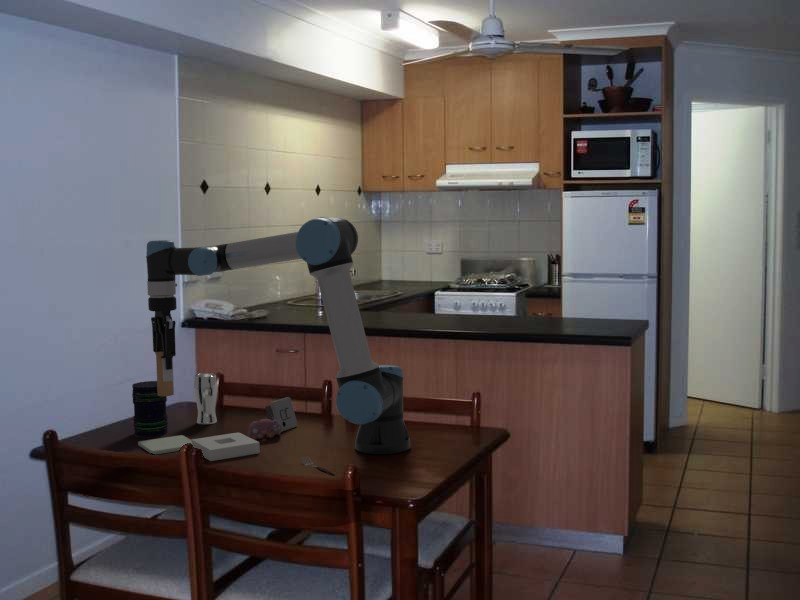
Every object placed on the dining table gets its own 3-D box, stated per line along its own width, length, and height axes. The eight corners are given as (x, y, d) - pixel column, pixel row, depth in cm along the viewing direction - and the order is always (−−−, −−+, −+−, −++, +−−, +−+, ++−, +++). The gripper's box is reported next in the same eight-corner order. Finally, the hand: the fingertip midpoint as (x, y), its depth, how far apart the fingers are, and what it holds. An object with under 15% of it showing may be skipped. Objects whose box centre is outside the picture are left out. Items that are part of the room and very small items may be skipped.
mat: (198, 447, 261) (198, 444, 261) (152, 454, 254) (152, 451, 254) (182, 438, 272) (182, 435, 272) (138, 445, 265) (137, 441, 265)
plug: (176, 395, 261) (174, 352, 260) (160, 396, 258) (158, 353, 257) (170, 392, 265) (169, 350, 263) (155, 394, 262) (153, 352, 261)
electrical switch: (280, 433, 277) (276, 402, 276) (266, 433, 279) (262, 402, 279) (298, 426, 285) (295, 396, 284) (284, 426, 287) (281, 396, 287)
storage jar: (134, 438, 272) (132, 388, 271) (133, 431, 282) (131, 382, 280) (169, 435, 275) (167, 385, 274) (167, 428, 285) (165, 380, 283)
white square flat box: (259, 453, 254) (259, 442, 254) (210, 461, 247) (210, 450, 246) (239, 442, 266) (238, 432, 266) (191, 450, 258) (191, 439, 258)
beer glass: (191, 424, 290) (189, 376, 288) (202, 419, 296) (200, 372, 295) (211, 425, 288) (209, 377, 286) (222, 420, 294) (220, 373, 293)
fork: (330, 478, 231) (330, 470, 231) (299, 464, 244) (299, 456, 244) (339, 476, 232) (339, 468, 232) (308, 462, 245) (308, 455, 245)
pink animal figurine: (248, 445, 270) (249, 426, 266) (246, 434, 273) (246, 416, 270) (282, 442, 272) (283, 423, 269) (279, 432, 276) (281, 413, 272)
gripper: (186, 297, 254) (189, 382, 256) (165, 293, 268) (168, 373, 270) (159, 299, 250) (162, 385, 252) (139, 294, 264) (142, 376, 266)
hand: (165, 379), depth 261 cm, fingers closed on plug, 4 cm apart
